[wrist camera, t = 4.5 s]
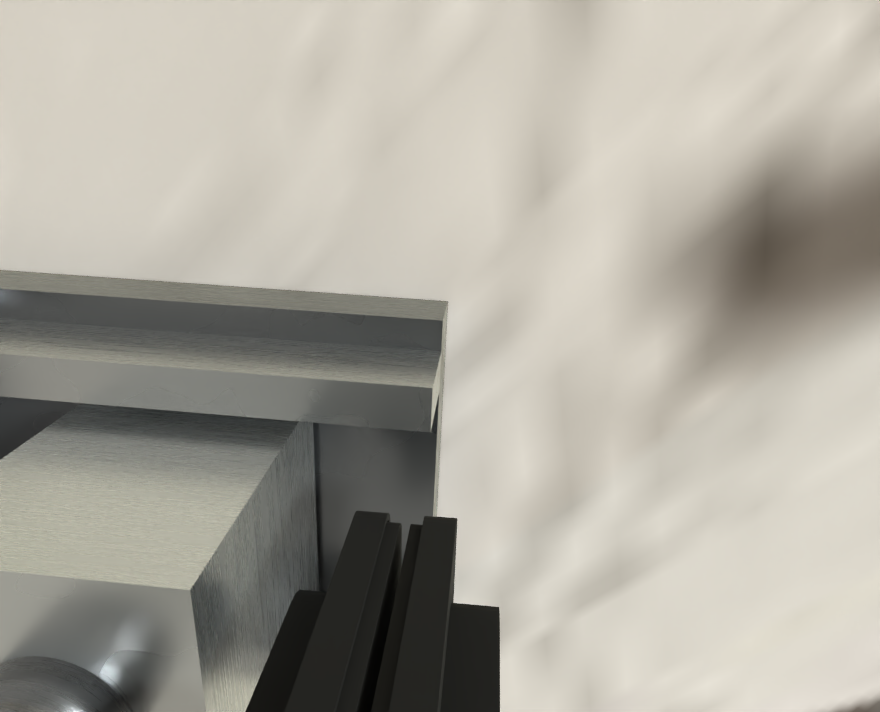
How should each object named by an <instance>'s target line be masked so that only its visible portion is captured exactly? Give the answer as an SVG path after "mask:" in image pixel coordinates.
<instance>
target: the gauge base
mask: <svg viewBox="0 0 880 712" xmlns="http://www.w3.org/2000/svg"><path fill="white" fill-rule="evenodd" d="M447 310H448V301H434V300H419V299H405V298H391V297H377V296H362V295H348V294H334V293H320V292H305V291H291V290H277V289H262V288H248V287H234V286H220V285H205V284H191V283H177V282H162V281H148V280H134V279H120V278H105V277H91V276H77V275H62V274H48V273H34V272H20V271H5V270H0V460H1V459H2V458H3V457H5V456H6V455H8V454H9V453H11V452H12V451H13V450H15V449H16V448H18V447H19V446H21V445H22V444H23V443H25V442H26V441H28V440H29V439H31V438H32V437H33V436H35V435H36V434H38V433H39V432H41V431H42V430H43V429H45V428H46V427H48V426H49V425H51V424H52V423H53V422H55V421H56V420H58V419H59V418H61V417H62V416H63V415H65V414H66V413H68V412H69V411H71V410H72V409H73V408H75V407H76V406H78V405H79V404H81V403H85V404H97V405H109V406H121V407H133V408H145V409H157V410H169V411H181V412H193V413H204V414H216V415H228V416H240V417H252V418H264V419H276V420H288V421H300V422H312V423H313V433H314V462H315V492H316V522H317V551H318V581H319V591H321V592H327V590H328V587H329V584H330V582H331V579H332V576H333V573H334V570H335V567H336V565H337V562H338V559H339V556H340V553H341V550H342V548H343V545H344V542H345V539H346V536H347V534H348V531H349V528H350V525H351V522H352V519H353V517H354V514H355V512H356V511H369V512H381V513H389V514H390V522H394V523H401V525H402V562H403V558H404V553H405V548H406V543H407V539H408V534H409V529H410V525H411V524H419V525H423V520H424V516H432V517H437V498H438V479H439V460H440V442H441V423H442V404H443V385H444V366H445V347H446V328H447Z"/></svg>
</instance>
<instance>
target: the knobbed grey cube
mask: <svg viewBox="0 0 880 712" xmlns="http://www.w3.org/2000/svg"><path fill="white" fill-rule="evenodd" d="M298 590H310V591H319V581H318V551H317V522H316V492H315V462H314V433H313V423H312V422H300V421H288V420H276V419H264V418H252V417H240V416H228V415H216V414H204V413H193V412H181V411H169V410H157V409H145V408H133V407H121V406H109V405H97V404H85V403H81V404H79V405H78V406H76V407H75V408H73V409H72V410H71V411H69V412H68V413H66V414H65V415H63V416H62V417H61V418H59V419H58V420H56V421H55V422H53V423H52V424H51V425H49V426H48V427H46V428H45V429H43V430H42V431H41V432H39V433H38V434H36V435H35V436H33V437H32V438H31V439H29V440H28V441H26V442H25V443H23V444H22V445H21V446H19V447H18V448H16V449H15V450H13V451H12V452H11V453H9V454H8V455H6V456H5V457H3V458H2V459H1V460H0V712H245V711H246V709H247V706H248V704H249V702H250V699H251V697H252V695H253V692H254V690H255V687H256V685H257V683H258V680H259V678H260V675H261V673H262V671H263V668H264V666H265V663H266V661H267V659H268V656H269V654H270V651H271V649H272V647H273V644H274V642H275V640H276V637H277V635H278V632H279V630H280V628H281V625H282V623H283V620H284V618H285V616H286V613H287V611H288V608H289V606H290V604H291V601H292V599H293V597H294V595H295V594H296V592H297V591H298Z"/></svg>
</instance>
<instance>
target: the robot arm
mask: <svg viewBox="0 0 880 712" xmlns="http://www.w3.org/2000/svg"><path fill="white" fill-rule="evenodd" d="M456 535H457V518H445V517H432V516H424V520H423V525H419V524H411V525H410V529H409V534H408V539H407V543H406V548H405V553H404V558H403V562H402V525H401V523H394V522H390V514H389V513H381V512H369V511H356V512H355V514H354V517H353V519H352V522H351V525H350V528H349V531H348V534H347V536H346V539H345V542H344V545H343V548H342V550H341V553H340V556H339V559H338V562H337V565H336V567H335V570H334V573H333V576H332V579H331V582H330V584H329V587H328V590H327V592H321V591H310V590H298V591H297V592H296V594H295V595H294V597H293V599H292V601H291V604H290V606H289V608H288V611H287V613H286V616H285V618H284V620H283V623H282V625H281V628H280V630H279V632H278V635H277V637H276V640H275V642H274V644H273V647H272V649H271V651H270V654H269V656H268V659H267V661H266V663H265V666H264V668H263V671H262V673H261V675H260V678H259V680H258V683H257V685H256V687H255V690H254V692H253V695H252V697H251V699H250V702H249V704H248V706H247V709H246V711H245V712H500V618H499V607H491V606H480V605H469V604H457V603H453V596H454V576H455V556H456Z"/></svg>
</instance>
